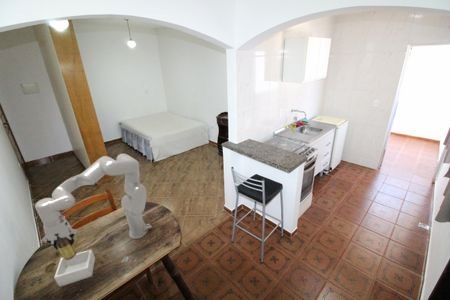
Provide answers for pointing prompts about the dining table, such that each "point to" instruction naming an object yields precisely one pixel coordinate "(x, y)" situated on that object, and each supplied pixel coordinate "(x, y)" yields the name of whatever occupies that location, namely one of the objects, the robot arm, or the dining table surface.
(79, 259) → the storage box
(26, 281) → the dining table surface
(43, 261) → the dining table surface
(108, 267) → the dining table surface
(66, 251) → the sauce bottle
